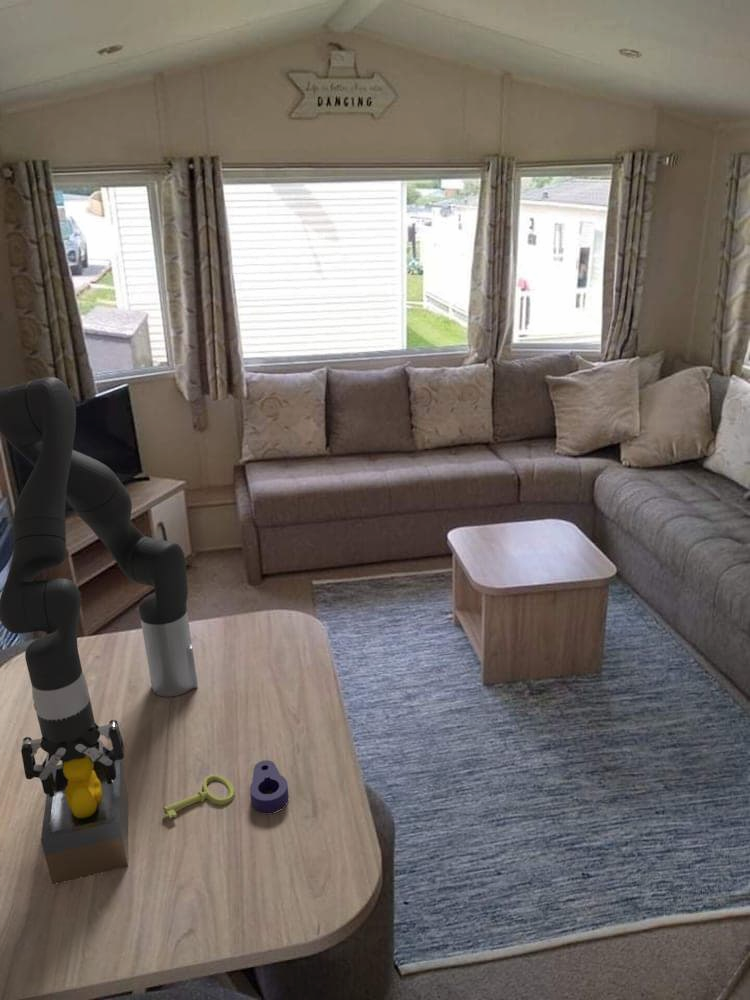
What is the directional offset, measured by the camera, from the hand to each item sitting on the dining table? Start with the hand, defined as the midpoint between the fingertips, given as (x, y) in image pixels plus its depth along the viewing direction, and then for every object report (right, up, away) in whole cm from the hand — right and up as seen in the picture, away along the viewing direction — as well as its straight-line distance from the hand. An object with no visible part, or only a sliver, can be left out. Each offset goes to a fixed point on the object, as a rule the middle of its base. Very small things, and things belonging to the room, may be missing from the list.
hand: (81, 786), depth 120 cm
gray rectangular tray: (0, -10, +4) cm, 10 cm away
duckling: (0, -4, +2) cm, 4 cm away
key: (+16, -7, +11) cm, 21 cm away
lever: (+27, -5, +13) cm, 31 cm away
